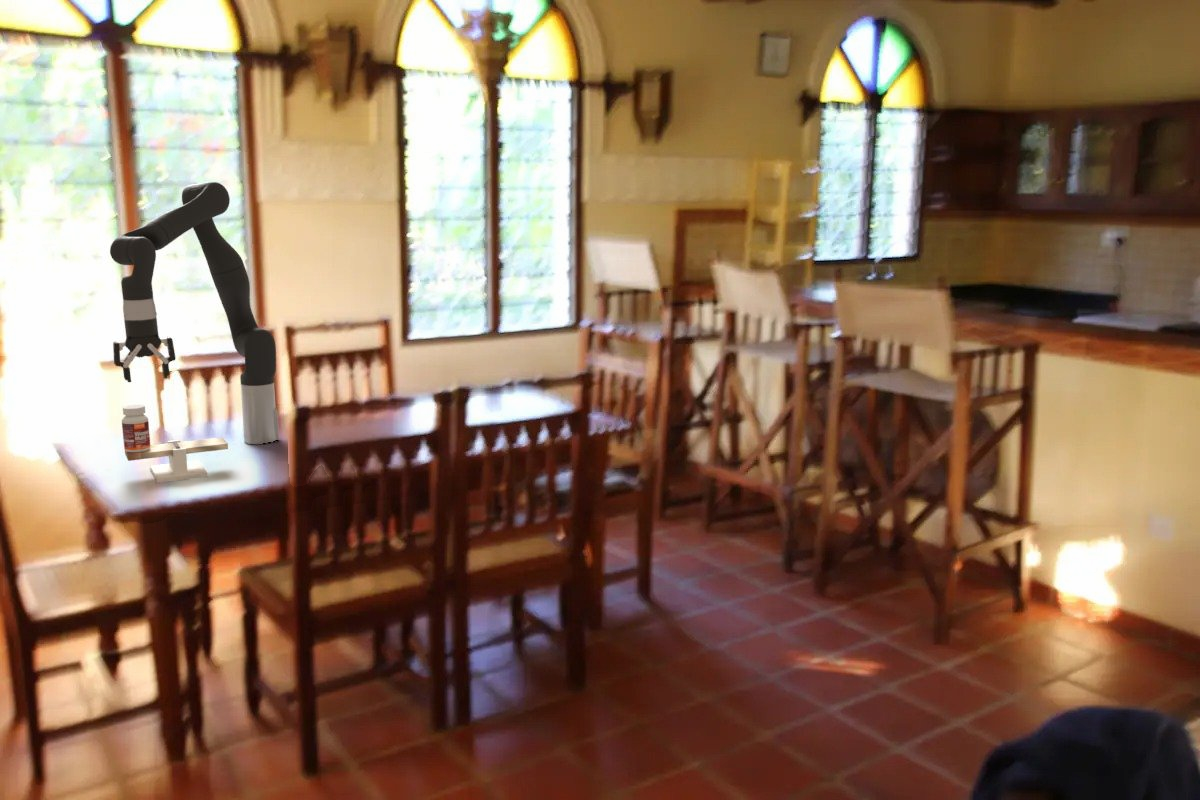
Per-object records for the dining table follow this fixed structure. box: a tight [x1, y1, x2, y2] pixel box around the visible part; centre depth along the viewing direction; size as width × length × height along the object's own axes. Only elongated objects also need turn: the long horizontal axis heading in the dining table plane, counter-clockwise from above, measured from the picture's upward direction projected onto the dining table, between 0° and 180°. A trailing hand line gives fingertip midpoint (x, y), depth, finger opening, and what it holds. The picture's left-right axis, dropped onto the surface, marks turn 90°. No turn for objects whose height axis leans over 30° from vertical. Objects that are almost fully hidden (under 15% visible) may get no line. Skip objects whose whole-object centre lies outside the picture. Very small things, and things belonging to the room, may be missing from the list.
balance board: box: [124, 437, 229, 462], centre depth 272 cm, size 24×8×2 cm, turn 119°
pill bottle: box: [121, 404, 151, 453], centre depth 266 cm, size 6×6×11 cm
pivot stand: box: [149, 439, 209, 483], centre depth 272 cm, size 12×14×8 cm
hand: (147, 379), depth 268 cm, fingers open, 8 cm apart
